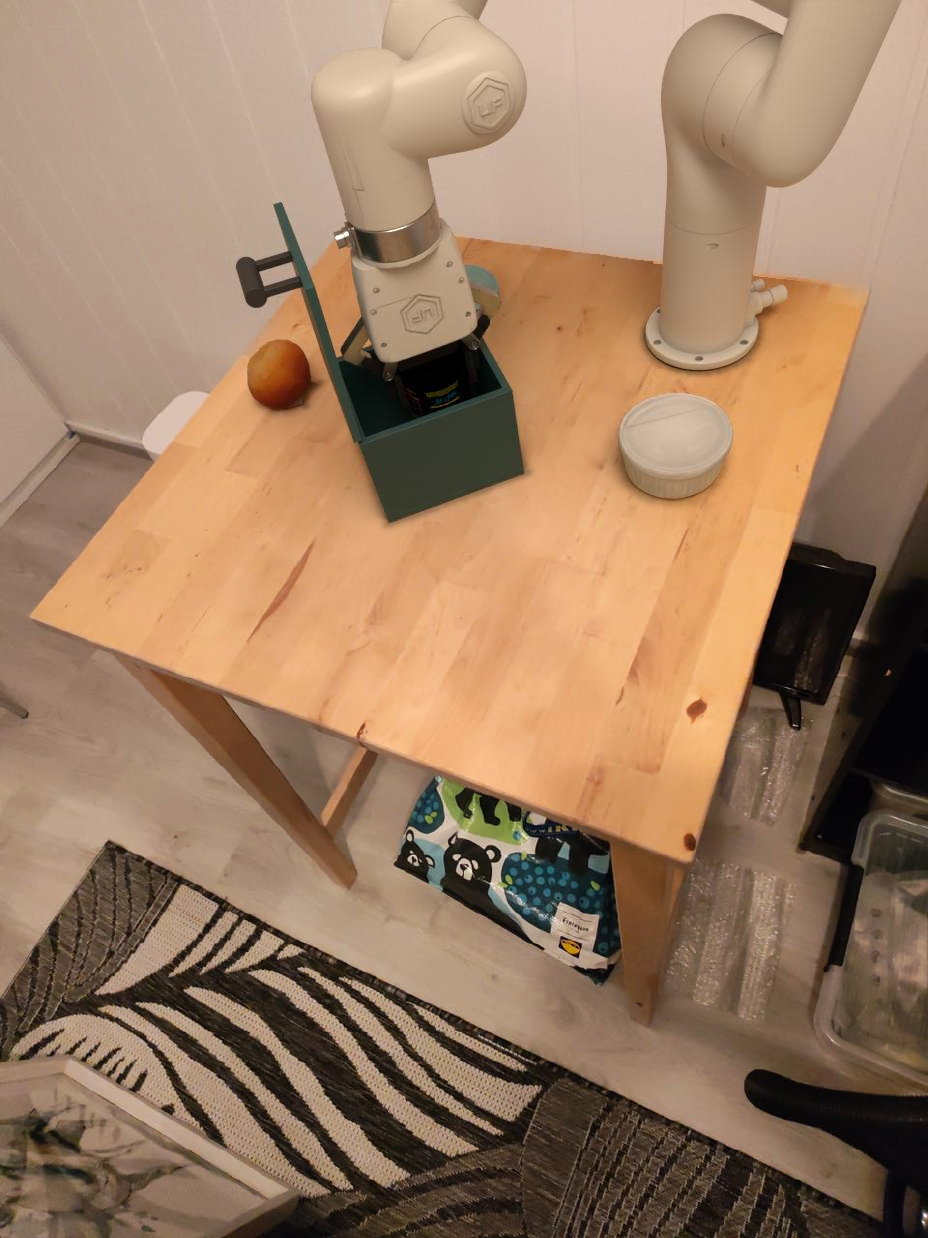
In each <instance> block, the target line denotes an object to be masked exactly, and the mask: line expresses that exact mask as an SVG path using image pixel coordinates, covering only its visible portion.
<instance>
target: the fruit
mask: <svg viewBox="0 0 928 1238" xmlns="http://www.w3.org/2000/svg"><path fill="white" fill-rule="evenodd" d="M246 367H247V368H246V378H247V382H246V383H247V388H248V390H249V393H250V395H251V396H252V399H254V400H255V401H256V402H258V403H260V404H261V405H263V406H264V407H266V408H269V409H273V410H274V409H275V410H276V409H277V410H286V409H289V408H293V407H294V406H297V405H304V398H305V395H306V393H307V390H308V388H309V387H311V385H317V383H316V382H313V381H312V375H311V367H310V363H309V360H308V358H307V356H306V354H305V352H304V349H302V348H301V347H300V345H299V344H298V343H295V342H293V341H291V340H289V339H274V340H269V341H267V342H265V343H264V344H263V345H261V347H260V348H259V349H258V350H257V351H256V352H255V353H253V355H251V357H250V358H249V360H248V362H247V366H246Z"/></svg>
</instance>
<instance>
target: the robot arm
mask: <svg viewBox="0 0 928 1238" xmlns="http://www.w3.org/2000/svg"><path fill="white" fill-rule="evenodd" d="M488 1H489V0H390V3H389V6H388V9H387V12H386V16H385V19H384V24H383V28H382V35H381V47H362V48H356V49H352V50H349V51H346V52H344V53H341V54H338V55H336V56H334V57H332V58H331V59H329V60H328V61H327V62H325V63H324V64H323V65H322V66H320V68H318V70H317V72H315V75H314V76H313V78H312V82H311V85H310V100H311V105H312V108H313V112H314V115H315V119H316V122H317V125H318V129H319V132H320V136H321V138H322V143H323V145H324V149H325V152H326V154H327V158H328V161H329V165H330V168H331V171H332V173H333V174H332V175H333V177H334V181H335V184H336V187H337V190H338V194H339V197H340V200H341V204H342V206H343V210H344V211H343V212H344V217H345V220H346V221H344V223H343V225H344V226H343V227H341V228H340V230H337V231H334V232H333V233H332V235H333V237H334V240H335V243H336V245H337V248H338V250H341V249H344V248H348V249H349V248H350V251H349V254H350V266H351V274H352V275H351V276H352V280H353V285H354V291H355V295H356V296H355V297H356V300H357V304H358V308H359V312H360V315H361V316H360V318H359V319H358V320H357V322H356V323H355V324H354V326H353V328H352V330H351V331H350V333H349V334H348V336H347V337H346V339H345V340H344V342H343V343H342V345H341V347H340V349H339V350H340V353H341V356H343V358H344V360H345V361H347V362H350V363H352V364H354V365H356V366H360V367H362V368H363V369H364V370H365V371H368V372H370V373H373V374H376V375H379V376H381V377H383V379H384V380H385V381H386V384H387V387H388V390H389V393H390V396H391V398H392V400H393V401H394V400H396V399H399V401H400V403H401V406H402V408H403V410H405V409H408V407H409V403H408V399H407V396H406V392H405V389H404V386H403V382H402V379H401V377H400V374H399V372H398V370H397V365H398V361H401V360H405V359H407V358H410V357H413V356H416V355H419V354H421V353H424V352H427V351H430V350H432V349H435V348H438V347H441V346H443V345H446V344H449V343H451V342H454V341H457V340H459V342H460V344H461V348H462V352H463V356H464V364H465V368H466V373H467V377H468V379H469V381H470V383H471V384H472V383H473V384H476V383H478V379H477V374H476V370H478V369H480V362H479V357H478V352H477V349H478V348H479V346H480V341H479V340H480V339H481V337H483V336H484V335H485V333H486V332H487V330H488V329H489V327H490V326H491V320H492V318H494V316H495V315H496V313H497V311H498V310H499V309H500V307H501V304H502V299H501V297H500V296H499V293H498V294H497V292H495V291H493V290H490V289H488V288H485V287H483V286H480V285H478V284H475V283H473V282H470V281H469V280H468V277H467V273H466V269H465V266H464V264H465V263H464V259H463V255H462V253H461V250H460V247H459V244H458V242H457V239H456V236H455V234H454V232H453V230H452V228H451V227H450V225H449V224H447V222H446V221H445V219H443V218H442V217H440V213H439V209H438V208H439V207H438V205H437V199H436V194H435V189H434V185H433V180H432V174H431V170H430V164H429V159H434V158H439V157H445V156H449V155H455V154H460V153H466V152H471V151H474V150H475V151H476V150H479V149H482V148H484V147H488V146H489V145H492V144H494V143H496V142H497V141H499V140H500V139H502V138H504V136H506V135H507V134H508V133H509V132H510V131H512V129H513V128H514V127H515V125H517V122H518V121H519V119H520V118H521V116H522V113H523V111H524V108H525V106H526V101H527V96H528V95H527V94H528V93H527V92H528V85H527V84H528V83H527V82H528V81H527V75H526V71H525V69H524V66H523V63H522V61H521V59H520V58H519V55H518V54H517V53H516V51H515V50H514V49H513V47H511V45H509V43H508V42H506V41H505V40H504V39H503V38H502V37H501V36H500V35H498V34H497V33H495V32H494V31H492V30H491V29H490V28H488V27H487V26H485V25H484V24H483V23H482V22H481V21H480V19H481V16H482V14H483V12H484V9H485V8H486V5H487V3H488ZM750 1H752V2H753V3H756V4H757V5H759V6H761V7H762V8H765V9H767V10H768V11H771V12H773V13H775V14H777V15H780V16H781V17H783V18H785V19H787V22H786V24H785V28H784V31H783V33H780V32H778V31H776V30H774V29H772V28H770V27H768V26H766V25H764V24H763V23H760V22H758V21H757V20H754V19H751V18H749V17H746V16H743V15H739V14H733V13H716V14H712V15H709V16H706V17H704V18H702V19H700V20H698V21H696V22H695V23H694V24H693V25H691V26H690V27H688V28H687V29H686V30H685V31H684V32H683V34H682V35H681V36H680V37H679V39H678V40H677V41H676V42H675V45H674V46H673V48H672V50H671V51H670V54H669V55H668V58H667V60H666V63H665V66H664V71H663V75H662V79H661V89H660V108H661V111H660V113H661V122H662V129H663V136H664V145H665V153H666V154H665V155H666V193H665V194H666V195H665V210H664V226H663V227H664V229H663V245H662V264H661V265H662V267H661V283H660V285H661V286H660V301H659V302H660V303H659V304H660V305H659V306H658V307H656V308H655V309H654V310H653V311H652V312H651V314H650V315H649V317H648V319H647V321H646V324H645V330H644V331H645V341H646V345H647V348H648V349H649V350H650V352H651V353H652V354H653V355H654V356H655V357H656V358H657V359H659V360H660V361H662V362H663V363H665V364H668V365H670V366H671V367H672V366H673V367H675V368H679V369H683V370H692V371H707V370H714V369H719V368H723V367H726V366H729V365H731V364H733V363H735V362H738V361H739V360H741V359H742V358H744V356H746V355H747V354H748V353H749V352H750V351H752V349H753V347H754V346H755V344H756V342H757V339H758V334H759V327H760V326H759V319H758V317H757V316H756V315H759V314H761V313H762V312H763V310H764V309H765V308H767V307H773V306H776V305H779V304H781V303H784V302H786V301H787V300H788V295H789V294H788V290H787V287H786V285H784V284H777V285H775V286H773V287H770V288H767V289H765V288H766V284H765V281H764V279H763V278H758V279H755V280H753V275H754V271H755V262H756V257H757V251H758V244H759V237H760V231H761V227H762V226H761V225H762V221H763V220H762V219H763V213H764V208H765V202H766V195H767V187H769V188H777V189H779V188H780V189H781V188H788V187H791V186H794V185H796V184H798V183H801V182H802V181H803V180H804V179H806V178H808V177H809V176H810V175H811V174H813V173H814V172H815V171H816V169H818V168H819V166H821V164H822V163H823V162H824V161H825V159H826V158H827V157H828V155H830V153H831V151H832V149H834V147H835V145H836V143H837V142H838V140H839V138H840V136H841V134H842V132H843V131H844V129H845V127H846V125H847V123H848V120H849V119H850V116H851V114H852V112H853V110H854V108H855V105H856V103H857V101H858V99H859V96H860V95H861V93H862V90H863V88H864V87H865V83H866V81H867V79H868V77H869V74H870V73H871V70H872V68H873V65H874V64H875V61H876V59H877V57H878V55H879V53H880V50H881V48H882V46H883V43H884V42H885V39H886V36H887V34H888V32H889V30H890V27H891V26H892V23H893V21H894V19H895V17H896V14H897V12H898V10H899V8H900V5H901V3H902V0H750ZM463 278H464V279H463ZM474 302H475V303H478V304H480V306H479V309H477V310H476V309H475V304H474ZM467 314H468V315H467ZM368 340H369V342H370V345H372V347H373V350H374V352H375V354H374V353H372V352H369V351H366V350H365V351H363V350H362V348H364V346H365V345H366V343H367V342H368Z"/></svg>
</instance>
